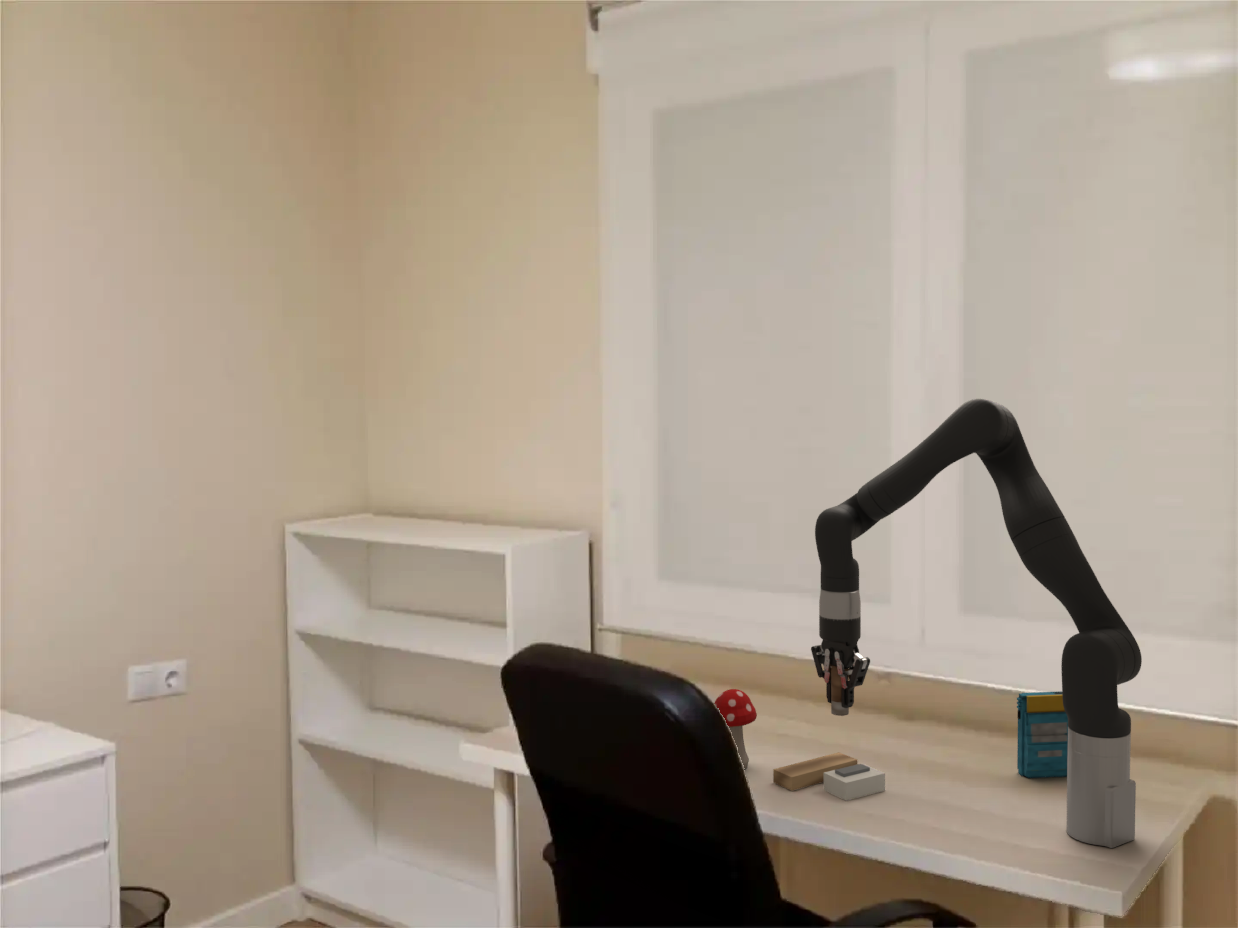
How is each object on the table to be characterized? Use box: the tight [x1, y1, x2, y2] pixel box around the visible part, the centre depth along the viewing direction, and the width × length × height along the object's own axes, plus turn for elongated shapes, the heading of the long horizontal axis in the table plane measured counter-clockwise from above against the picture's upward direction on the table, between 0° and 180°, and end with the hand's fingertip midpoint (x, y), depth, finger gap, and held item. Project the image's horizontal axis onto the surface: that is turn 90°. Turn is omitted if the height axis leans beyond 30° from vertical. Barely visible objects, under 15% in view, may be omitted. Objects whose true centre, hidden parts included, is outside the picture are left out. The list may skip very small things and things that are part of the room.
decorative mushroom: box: [713, 688, 758, 770], centre depth 215 cm, size 10×9×15 cm
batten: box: [772, 752, 858, 791], centre depth 210 cm, size 5×16×2 cm, turn 122°
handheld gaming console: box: [1016, 690, 1068, 779], centre depth 209 cm, size 10×4×15 cm, turn 94°
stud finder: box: [823, 763, 886, 802], centre depth 203 cm, size 6×9×4 cm, turn 119°
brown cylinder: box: [830, 665, 850, 717], centre depth 212 cm, size 3×3×9 cm
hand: (839, 704), depth 212 cm, fingers closed on brown cylinder, 3 cm apart
